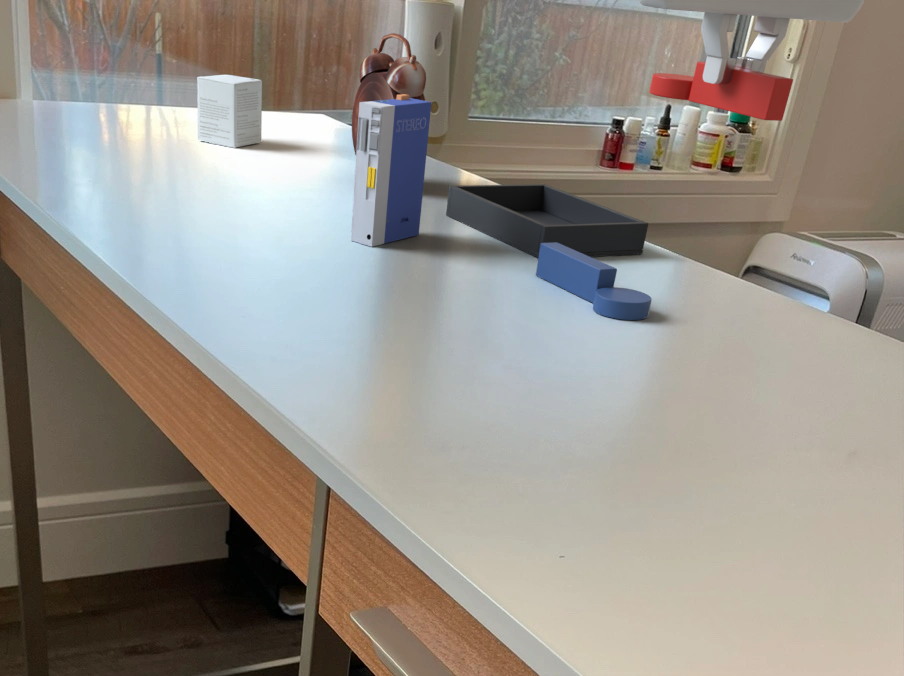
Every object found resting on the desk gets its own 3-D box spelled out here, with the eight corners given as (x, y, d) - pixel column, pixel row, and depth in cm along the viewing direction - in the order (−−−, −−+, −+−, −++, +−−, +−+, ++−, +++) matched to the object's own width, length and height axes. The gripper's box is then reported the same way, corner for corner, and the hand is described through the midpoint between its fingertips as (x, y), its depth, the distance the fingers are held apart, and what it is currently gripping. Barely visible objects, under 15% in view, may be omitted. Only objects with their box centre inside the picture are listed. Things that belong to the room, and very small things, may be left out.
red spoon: (795, 121, 86) (807, 79, 84) (751, 120, 84) (762, 77, 82) (680, 92, 95) (688, 55, 94) (637, 91, 94) (645, 52, 92)
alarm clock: (425, 193, 127) (440, 40, 119) (388, 194, 125) (401, 38, 116) (379, 173, 135) (390, 28, 126) (344, 174, 133) (352, 27, 124)
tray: (642, 254, 110) (648, 223, 109) (540, 259, 106) (545, 226, 104) (540, 212, 123) (545, 184, 122) (445, 215, 119) (449, 185, 117)
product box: (225, 136, 148) (225, 73, 144) (262, 143, 146) (263, 79, 142) (196, 141, 144) (195, 76, 140) (234, 148, 142) (235, 82, 137)
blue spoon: (522, 276, 100) (527, 243, 98) (564, 273, 102) (569, 241, 100) (614, 322, 90) (621, 286, 89) (659, 318, 92) (667, 283, 90)
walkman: (396, 229, 111) (407, 93, 104) (419, 235, 110) (432, 97, 103) (348, 240, 106) (356, 97, 99) (371, 246, 105) (381, 102, 98)
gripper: (703, -154, 73) (653, 86, 81) (916, -121, 82) (851, 93, 90) (643, -155, 78) (601, 73, 86) (851, -123, 86) (795, 81, 94)
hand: (731, 84), depth 88 cm, fingers closed on red spoon, 2 cm apart
